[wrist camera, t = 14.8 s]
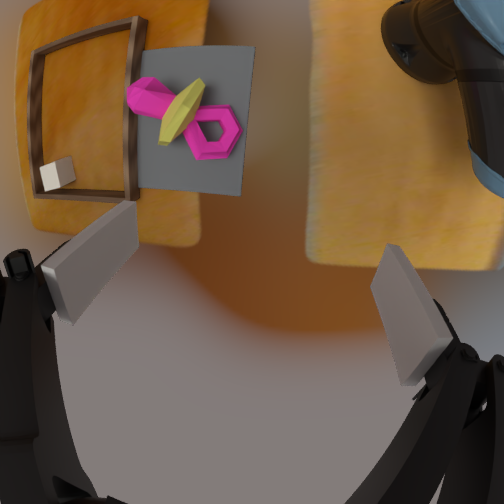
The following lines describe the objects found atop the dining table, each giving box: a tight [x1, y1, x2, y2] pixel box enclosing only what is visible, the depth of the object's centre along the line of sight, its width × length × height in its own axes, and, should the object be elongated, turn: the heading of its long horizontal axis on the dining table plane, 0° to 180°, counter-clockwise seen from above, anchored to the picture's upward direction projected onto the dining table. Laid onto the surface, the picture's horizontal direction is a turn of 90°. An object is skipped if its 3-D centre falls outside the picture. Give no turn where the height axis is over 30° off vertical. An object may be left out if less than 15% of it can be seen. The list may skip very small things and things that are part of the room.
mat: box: [137, 46, 255, 196], centre depth 38 cm, size 24×18×1 cm
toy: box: [127, 77, 243, 160], centre depth 34 cm, size 10×18×10 cm, turn 55°
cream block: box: [40, 156, 76, 191], centre depth 42 cm, size 5×5×5 cm
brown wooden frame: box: [27, 16, 148, 203], centre depth 37 cm, size 32×26×4 cm
